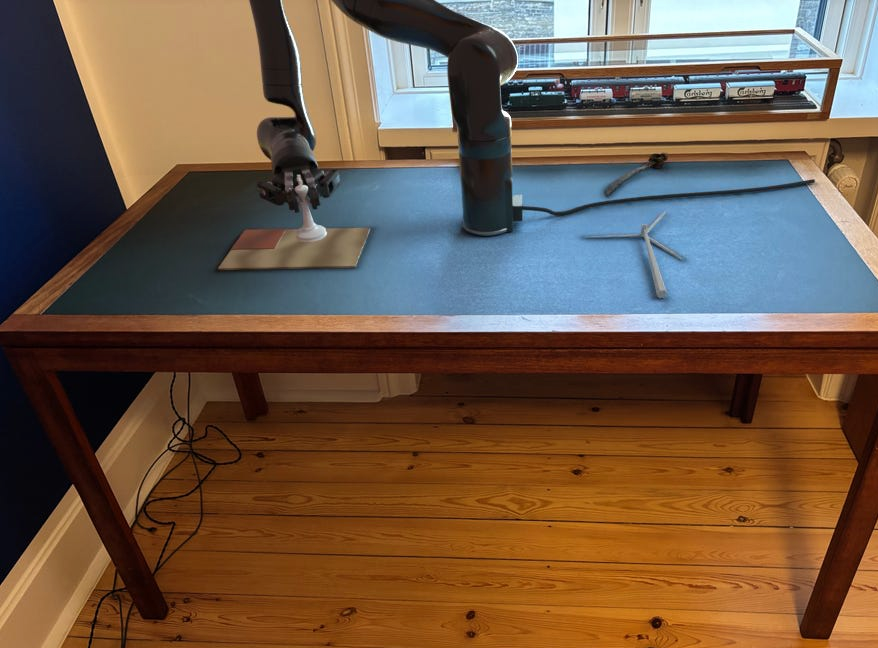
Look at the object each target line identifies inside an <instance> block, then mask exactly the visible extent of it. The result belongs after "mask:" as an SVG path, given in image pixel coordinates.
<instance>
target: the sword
mask: <svg viewBox="0 0 878 648" xmlns="http://www.w3.org/2000/svg"><path fill="white" fill-rule="evenodd" d="M668 159H669V155H668V151H666V152H661V153H651V154H650V155H649V158H648V163H645V164H643V165H641V166H639V167H637V168H634V169H633V170H631V171H629V172H627V173H625V174H623V175H621V176H620V177H618V178H616V179H615V180H614V181H612V182H611V183H610V184H609V185H608V186H607V187H606V189H605V191H604V192H605V196H606V197H609V196H610V195H611V194H612V193H613V192H614V191H615V190H616V189H617V188H618V187H620V185H622V184H623V183H624V182H626V181H627V180H628V179H629V178H631V177H633V176H635V175H636V174H638V173H640V172H641V171H644V170H645V169H647V168H650V167H654V168H658V169H661V168H663V167H664V165H665V162H667V161H668Z"/></svg>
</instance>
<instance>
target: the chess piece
mask: <svg viewBox="0 0 878 648" xmlns="http://www.w3.org/2000/svg"><path fill="white" fill-rule="evenodd" d="M297 181H298V183H299V186H297V187H295V191H296V193H297V194H298V196H299V197H298V198H299V200H297V202H298V207H301V209H302V220H303V224H302V225H301V227H300V228H297V229H298V230H297V231H296V233H295V235H296V240H298V241H300V242H315V241H318V240H321V239H323V238H324V237H325V236H326V235H327V232H326V229H327V228H326V227H324V226H323V225H320V224H317V223H315V221H314V219H313V216H312V213H311V210H310V207H309V206H310V205H311V200H310V198H308V195H307V192H308V186H306V185H302V184H303V181H302V180H301V176H300V175H297Z"/></svg>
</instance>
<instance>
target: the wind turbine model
mask: <svg viewBox="0 0 878 648" xmlns="http://www.w3.org/2000/svg"><path fill="white" fill-rule="evenodd" d="M666 213H667V211H666V210H665V211H663V212H662V213H661V214H660V215H659V216H658V217H657V218H656V219H655V220H654V221H653V223H652V224H650V226H649V227H648V223H641V228H640V233H636V234H635V233H633V234H614V235H613V234H612V235H595V236H594V235H593V236H584V238H585V239H586V238H587V239H589V238H590V239H591V238H592V239H593V238H597V239H598V238H626V237H627V238H629V237H634V238H635V237H641V238H644V242H645V246H646V247H645V248H646V252H647V256H648V261H649V266H650V270H651V271H650V272H651V276H652V281H653V284H654V288H655V293H656V296H657V298H658V299H665V298H666V297H667V296H668V292H667V288H666V286H665V283H664V279H663V277H662V274H661V271H660V268H659V265H658V262H657V258H656V255H655V252H654V250H653V249H654V248H653V247H652V244H651V243H653V244H654V245H656V246H658V247H659V248H661V250H664V251H665V252H667V253H669V254H670V255H672V256H673V257H675V258H677V259H679V260H681V261H682V260H683V258H682V256H680V255H679V254H677V253H675V252H674V251H672V250H671V249H670V248H668V247H667V246H665V245H664V244H661V243H660V242H659V241H657V240H656V239H653V238H652V237H651V236H649V232H650V231H651V230H652V229H653V228H655V226H656V225H657V224H658V223H659V222H660V220H661V219H662V218H663V217H664V216H665V214H666Z"/></svg>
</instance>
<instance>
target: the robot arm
mask: <svg viewBox="0 0 878 648" xmlns="http://www.w3.org/2000/svg"><path fill="white" fill-rule="evenodd" d="M330 1H331V2H332V3H333V4H334V5H335V6H336V8H338V10H339V11H341V13H342V14H344V15H345V16H346V17H347V18H349V19H350V20H351V21H353V22H354V23H355V24H357V25H359V26H361V27H362V28H364V29H366V30H368V31H370V32H372V33H373V34H375V35H377V36H379V37H381V38H384V39H387V40H389V41H393V42H396V43H401V44H405V45H409V46H414V47H420V48H423V49H427V50H431V51H433V52H436V53H439V54H440V55H442V56H444V57H446V58H447V65H446V70H447V71H446V75H447V85H448V94H449V103H450V110H451V116H452V119H453V121H454V123H455V125H456V129H457V144H458V145H457V147H458V160H459V161H458V162H459V176H460V177H459V179H460V191H461V193H460V194H461V206H462V207H461V208H462V228H463V230H464V231H465V232H467V233H469V234H470V235H471V234H472V235H476V236H482V237H483V236H484V237H491V236H497V235H502V234H505V233H511V232H514V226H515V222H523V214H524V213H523V212H524V211H532V212H533V211H534V212H542V213H546V214H549V215H551V216H567V215H570V214H573V213H577V212H579V211H583V210H586V209H590V208H594V207H601V206H607V205H614V204H624V203H631V202H632V203H633V202H641V201H652V200H653V201H654V200H665V199H676V198H677V199H678V198H679V199H680V198H691V197H706V196H709V197H710V196H721V195H734V194H735V195H736V194H746V193H747V194H748V193H755V192H764V191H773V190H781V189H788V188H794V187H800V186H805V185H811V184H814V183H815V182H816V179H813V178H812V179H806V180H801V181H795V182H790V183H782V184H776V185H767V186H760V187H759V186H758V187H750V188H738V189H727V190H726V189H725V190H713V191H699V192H697V191H696V192H683V193H681V192H680V193H669V194H655V195H643V196H634V197H625V198H616V199H609V200H602V201H596V202H590V203H585V204H582V205H579V206H576V207H574V208H570V209H566V210H561V211H557V210H556V211H555V210H552V209H550V208H547V207H541V206H530V205H523V194H514V184H513V183H514V178H513V177H514V174H513V173H514V172H513V154H512V153H513V152H512V151H513V150H512V149H513V148H512V147H513V146H512V120H511V116H510V114H509V113H508V112H506V111H504V110H503V107H502V106H503V105H502V95H501V94H502V93H501V86H503V85H504V84H505V83H507V82H508V81H509V80H510V79H511V78H512V77H513V76H514V75H515V72H516V71H517V69H518V65H519V56H518V52H517V49H516V46H515V45H514V43H513V41H512V40H511V39H510V37H509V36H508V35H507V34H505V33H504V32H503V31H502V30H499V29H498V28H495V27H493V26H491V25H489V24H486V23H483V22H481V21H479V20H476V19H474V18H471V17H468V16H466V15H463V14H461V13H459V12H457V11H455V10H453V9H451V8H449V7H447V6H445V5H443V4H442V3H440V2H438V1H437V0H330ZM248 2H249V6H250V11H251V14H252V19H253V23H254V28H255V32H256V39H257V45H258V52H259V62H260V63H259V64H260V72H261V82H262V93H263V98H264V99H265V101H266V102H268V103H271V104H275V105H280V106H285V107H288V108H289V109H290V110H291V111H292V112H293V114H294V116H284V117H283V116H272V117H271V116H270V117H265V118H264V119H262V120H261V121H260V122H259V123H258V125H257V128H256V139H257V144H258V146H259V149H260V150H261V152H262V153H263V155H264V156H265V157H266V158H267V159H269V160H270V164H271V172H272V174H273V177H271V179H270V181H265V180H258V181H257V182H256V185H257V186H256V187H257V191H258V194H259V197H260V199H262V200H265V201H267V202H269V203H271V204H273V205H275V206H279V207H280V206H283V205H285V203H287V205H288V209H289V211H294V214H295V213H297V214H298V213H300V206H299V205H298V198H299V196H298V194H297V193H296V191H295V187H297V186H299V183H298V181H297V175H300V176H301V180H302V181H303V184H302V185H306V186H308V192H307V198H308V199H310V200H311V204H310V205H311V208H312V211H314V210H318V207H320V206H322V205H321V204H322V202H321V197H322V198H323V199H329V198H330V197H331V196H332V195H333V194H334V193H335V191H337V189H338V188H339V187H340V186H341V184H342V183H341V178H340V173H339V169H338V168H333V169H330V171H327V172H326V173H325V172H324V170H323V169H320V167H319V164H318V162H317V158H316V155H315V154H314V150H315V148H316V145H317V137H316V132H315V129H314V126H313V123H312V120H311V118H310V115H309V112H308V109H307V106H306V101H305V96H304V90H303V77H302V64H301V55H300V51H299V47H298V43H297V41H296V38H295V36H294V33H293V30H292V29H291V25H290V23H289V21H288V18H287V14H286V12H285V9H284V5H283V0H248Z"/></svg>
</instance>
